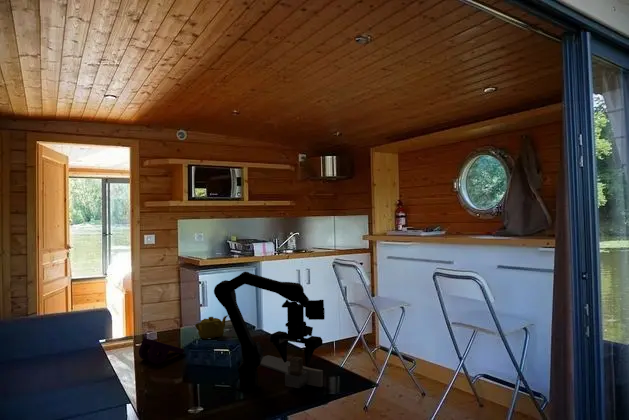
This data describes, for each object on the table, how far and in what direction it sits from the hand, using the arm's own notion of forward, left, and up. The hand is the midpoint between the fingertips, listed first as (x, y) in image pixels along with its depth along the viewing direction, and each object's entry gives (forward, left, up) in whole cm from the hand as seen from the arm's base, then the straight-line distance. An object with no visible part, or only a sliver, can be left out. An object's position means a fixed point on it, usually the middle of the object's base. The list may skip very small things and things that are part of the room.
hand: (296, 364), depth 158 cm
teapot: (+37, +74, -9) cm, 83 cm away
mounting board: (+6, 0, -8) cm, 10 cm away
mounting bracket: (+2, +69, -9) cm, 70 cm away
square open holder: (+1, 0, -7) cm, 7 cm away
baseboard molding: (+17, +15, -9) cm, 25 cm away
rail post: (0, 0, -6) cm, 6 cm away
